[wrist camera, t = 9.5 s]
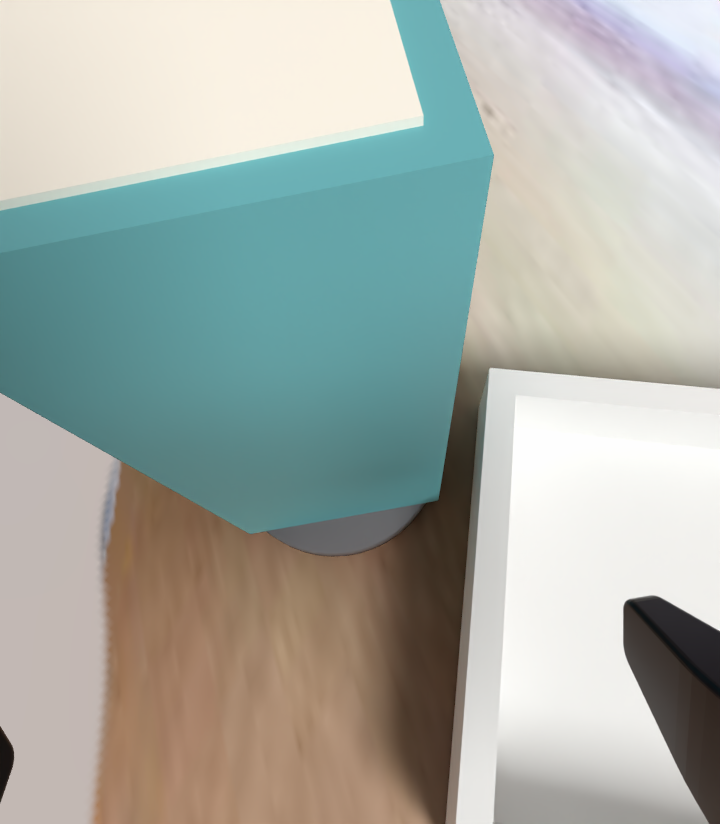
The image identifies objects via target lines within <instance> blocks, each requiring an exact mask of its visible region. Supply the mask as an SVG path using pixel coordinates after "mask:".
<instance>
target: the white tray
mask: <svg viewBox="0 0 720 824" xmlns="http://www.w3.org/2000/svg"><path fill="white" fill-rule="evenodd" d="M649 595H655V596H658V597H661V598H663V599H665V600H666V601H668V602H670V603H672V604H673V605H675V606H677V607H679V608H680V609H682V610H684V611H686V612H688V613H689V614H691V615H693V616H695V617H696V618H698V619H700V620H702V621H703V622H705V623H707V624H709V625H710V626H712V627H714V628H716V629H717V630H719V631H720V389H716V388H705V387H694V386H683V385H672V384H661V383H650V382H639V381H628V380H617V379H606V378H595V377H585V376H574V375H563V374H552V373H541V372H530V371H519V370H508V369H497V368H489V372H488V375H487V379H486V383H485V386H484V390H483V394H482V397H481V401H480V404H479V411H478V424H477V436H476V449H475V461H474V474H473V486H472V499H471V511H470V524H469V536H468V549H467V561H466V574H465V586H464V599H463V611H462V624H461V636H460V649H459V661H458V674H457V686H456V699H455V711H454V724H453V736H452V749H451V761H450V774H449V786H448V799H447V811H446V824H709V823H708V821H707V819H706V818H705V816H704V814H703V813H702V811H701V809H700V808H699V806H698V804H697V802H696V801H695V799H694V797H693V795H692V794H691V792H690V790H689V788H688V786H687V785H686V783H685V781H684V779H683V777H682V775H681V773H680V771H679V769H678V767H677V765H676V763H675V761H674V759H673V757H672V755H671V753H670V750H669V748H668V746H667V744H666V742H665V740H664V738H663V736H662V734H661V731H660V729H659V727H658V725H657V723H656V721H655V719H654V717H653V715H652V712H651V710H650V708H649V706H648V704H647V702H646V700H645V698H644V696H643V694H642V691H641V689H640V687H639V685H638V683H637V681H636V679H635V677H634V675H633V672H632V670H631V668H630V666H629V664H628V662H627V659H626V656H625V652H624V647H623V606H624V603H625V601H626V600H628V599H632V598H637V597H643V596H649Z"/></svg>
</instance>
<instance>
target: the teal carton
mask: <svg viewBox="0 0 720 824" xmlns="http://www.w3.org/2000/svg"><path fill="white" fill-rule="evenodd" d="M493 158H494V154H493V151H492V148H491V145H490V143H489V140H488V137H487V134H486V131H485V128H484V125H483V123H482V120H481V117H480V114H479V111H478V108H477V106H476V103H475V100H474V97H473V94H472V91H471V89H470V86H469V83H468V80H467V77H466V74H465V71H464V69H463V66H462V63H461V60H460V57H459V54H458V52H457V49H456V46H455V43H454V40H453V37H452V35H451V32H450V29H449V26H448V23H447V20H446V17H445V15H444V12H443V9H442V6H441V3H440V0H0V393H2V394H4V395H5V396H7V397H9V398H11V399H12V400H14V401H16V402H18V403H19V404H21V405H23V406H25V407H27V408H28V409H30V410H32V411H34V412H35V413H37V414H39V415H41V416H42V417H44V418H46V419H48V420H49V421H51V422H53V423H55V424H57V425H58V426H60V427H62V428H64V429H66V430H67V431H69V432H71V433H73V434H74V435H76V436H78V437H79V438H81V439H83V440H85V441H86V442H88V443H90V444H92V445H94V446H95V447H97V448H99V449H101V450H102V451H104V452H106V453H108V454H109V455H111V456H113V457H115V458H117V459H118V460H120V461H122V462H124V463H125V464H127V465H129V466H131V467H132V468H134V469H136V470H138V471H139V472H141V473H143V474H145V475H147V476H148V477H150V478H152V479H154V480H155V481H157V482H159V483H161V484H162V485H164V486H166V487H168V488H170V489H171V490H173V491H175V492H177V493H178V494H180V495H182V496H184V497H185V498H187V499H189V500H191V501H192V502H194V503H196V504H198V505H200V506H201V507H203V508H205V509H207V510H208V511H210V512H212V513H214V514H215V515H217V516H219V517H221V518H223V519H224V520H226V521H228V522H230V523H231V524H233V525H235V526H237V527H238V528H240V529H242V530H244V531H245V532H247V533H249V534H253V533H258V532H264V531H269V530H275V529H281V528H286V527H292V526H298V525H303V524H309V523H315V522H320V521H326V520H332V519H337V518H343V517H349V516H354V515H360V514H365V513H371V512H377V511H382V510H388V509H394V508H399V507H405V506H411V505H416V504H422V503H428V502H433V501H438V499H439V493H440V487H441V480H442V474H443V468H444V462H445V456H446V449H447V443H448V437H449V431H450V425H451V418H452V412H453V406H454V400H455V394H456V387H457V381H458V375H459V369H460V363H461V356H462V350H463V344H464V338H465V332H466V325H467V319H468V313H469V307H470V301H471V294H472V288H473V282H474V276H475V269H476V263H477V257H478V251H479V245H480V238H481V232H482V226H483V220H484V214H485V207H486V201H487V195H488V189H489V183H490V176H491V170H492V164H493Z"/></svg>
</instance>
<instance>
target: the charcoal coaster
mask: <svg viewBox="0 0 720 824" xmlns="http://www.w3.org/2000/svg"><path fill="white" fill-rule="evenodd" d="M424 505H425V503H422V504H416V505H411V506H405V507H399V508H394V509H388V510H382V511H377V512H371V513H365V514H360V515H354V516H349V517H343V518H337V519H332V520H326V521H320V522H315V523H309V524H303V525H298V526H292V527H286V528H281V529H275V530H269V531H267V532H268V533H269V534H271V535H272V536H273V537H275V538H276V539H278V540H280V541H281V542H283V543H285V544H287V545H289V546H290V547H292V548H295V549H298V550H300V551H303V552H306V553H310V554H315V555H321V556H347V555H353V554H358V553H362V552H365V551H368V550H371V549H374V548H376V547H378V546H380V545H382V544H384V543H386V542H388V541H389V540H391V539H392V538H394V537H395V536H397V535H398V534H399V533H400V532H402V531H403V530H404V529H405V528H406V527H407V526H408V525H409V524H410V523H411V522H412V521H413V520H414V519H415V518H416V516H417V515H418V514H419V512H420V511H421V509H422V508H423V506H424Z"/></svg>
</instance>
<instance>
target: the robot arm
mask: <svg viewBox="0 0 720 824" xmlns="http://www.w3.org/2000/svg"><path fill="white" fill-rule="evenodd" d="M623 647H624V652H625V656H626V659H627V662H628V664H629V666H630V668H631V670H632V672H633V675H634V677H635V679H636V681H637V683H638V685H639V687H640V689H641V691H642V694H643V696H644V698H645V700H646V702H647V704H648V706H649V708H650V710H651V712H652V715H653V717H654V719H655V721H656V723H657V725H658V727H659V729H660V731H661V734H662V736H663V738H664V740H665V742H666V744H667V746H668V748H669V750H670V753H671V755H672V757H673V759H674V761H675V763H676V765H677V767H678V769H679V771H680V773H681V775H682V777H683V779H684V781H685V783H686V785H687V786H688V788H689V790H690V792H691V794H692V795H693V797H694V799H695V801H696V802H697V804H698V806H699V808H700V809H701V811H702V813H703V814H704V816H705V818H706V819H707V821H708V823H709V824H720V631H719V630H717V629H716V628H714V627H712V626H710V625H709V624H707V623H705V622H703V621H702V620H700V619H698V618H696V617H695V616H693V615H691V614H689V613H688V612H686V611H684V610H682V609H680V608H679V607H677V606H675V605H673V604H672V603H670V602H668V601H666V600H665V599H663V598H661V597H658V596H655V595H649V596H643V597H637V598H632V599H628V600H626V601H625V603H624V606H623ZM13 762H14V751H13V747H12V745H11V743H10V741H9V740H8V738H7V736H6V735H5V733H4V731H3V730H2V728H1V727H0V802H1V799H2V796H3V793H4V791H5V788H6V785H7V782H8V779H9V776H10V773H11V770H12V767H13Z"/></svg>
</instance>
